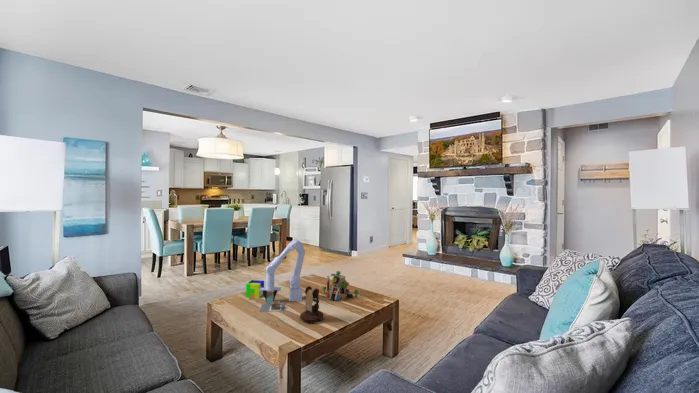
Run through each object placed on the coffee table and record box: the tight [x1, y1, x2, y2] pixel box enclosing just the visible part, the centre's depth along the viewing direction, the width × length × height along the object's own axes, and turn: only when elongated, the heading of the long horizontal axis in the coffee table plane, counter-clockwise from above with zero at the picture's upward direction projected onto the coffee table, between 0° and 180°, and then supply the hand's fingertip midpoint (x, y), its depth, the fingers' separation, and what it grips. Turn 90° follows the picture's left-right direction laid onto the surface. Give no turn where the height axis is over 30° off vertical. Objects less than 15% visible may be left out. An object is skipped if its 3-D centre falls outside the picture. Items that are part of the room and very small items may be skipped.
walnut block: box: [270, 300, 281, 310], centre depth 206 cm, size 5×5×4 cm
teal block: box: [265, 295, 273, 304], centre depth 217 cm, size 4×4×4 cm
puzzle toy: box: [245, 279, 265, 299], centre depth 232 cm, size 10×10×10 cm
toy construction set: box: [321, 270, 359, 302], centre depth 234 cm, size 27×22×21 cm
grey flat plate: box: [259, 302, 286, 313], centre depth 207 cm, size 16×14×1 cm
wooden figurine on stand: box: [299, 285, 324, 325], centre depth 191 cm, size 15×15×20 cm
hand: (270, 300), depth 217 cm, fingers closed on teal block, 4 cm apart
